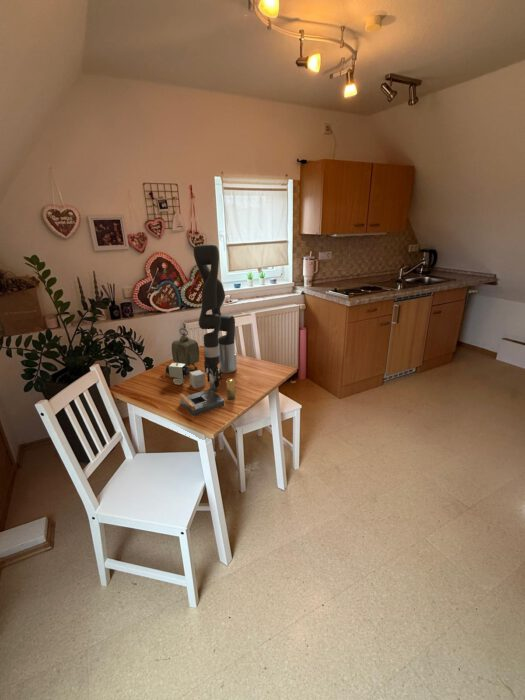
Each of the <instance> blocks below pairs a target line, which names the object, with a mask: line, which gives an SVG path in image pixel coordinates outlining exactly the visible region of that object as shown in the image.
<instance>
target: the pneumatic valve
mask: <svg viewBox="0 0 525 700" xmlns="http://www.w3.org/2000/svg"><path fill="white" fill-rule="evenodd" d="M189 372H191V371H190V367H189V366H187V364H182V363H176V362H171V363H170V364H168V365H167V366H166V367H165V373H166V374H167V375H168V378H173V380H172V381H173V383H174V385H176V386H177V385H178V386H181V385H182V384H184V383H185V378H186V377H187V376H190V373H189Z"/></svg>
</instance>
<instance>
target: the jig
mask: <svg viewBox="0 0 525 700" xmlns="http://www.w3.org/2000/svg"><path fill="white" fill-rule="evenodd" d="M179 401H180V404H181V405H182V407H184V409H185V410H186V411H187V412H188V414H189V413H190V415H191V416H192V417H196V416H198V415H202V414H204V413H207V412H210V411H213V410H216V409H218V408H222V407H225V399H224V398H222V397H221V396H220V395H219V394H217V392H216V393H215V392H214V391H212V390H211V389H210V388H209V389H206V390H201V391H198V392H196V393H192V394H189V395H184V393H180V394H179Z"/></svg>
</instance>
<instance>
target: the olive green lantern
mask: <svg viewBox="0 0 525 700" xmlns="http://www.w3.org/2000/svg"><path fill="white" fill-rule="evenodd" d="M182 330H183V331H185V332H186V333H185V332H183V333H182V332H181V331H182ZM179 333H180V335H182V336H180V339H176V340H173V341H172V343H171V355H172V359H173V363H182V364H187V366H188V367H189V366H193V367H194V369H195V370H197V369H198V366H196V365H195V364H196V363H199V362H200V347H199V342H198V341H196V340H195V339H192V338H189V337H188V335H189V331H188V330H187V329H186V328H183V327H181V328H179Z"/></svg>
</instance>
